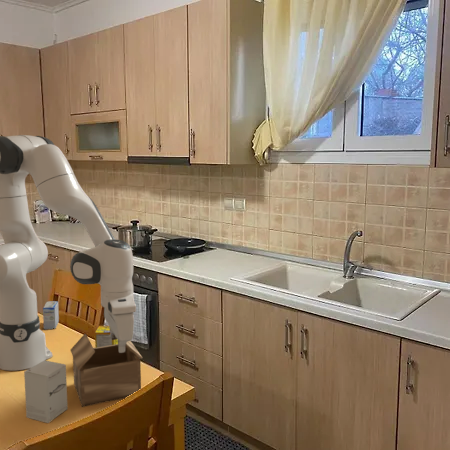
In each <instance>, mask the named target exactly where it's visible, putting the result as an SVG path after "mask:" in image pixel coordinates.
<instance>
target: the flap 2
mask: <svg viewBox="0 0 450 450" xmlns="http://www.w3.org/2000/svg"><path fill="white" fill-rule="evenodd" d="M125 346H126V347H127V348H128V349H130V350H131V351H132V352H133V353H134V354H136V355H137V356H138V358H139V359H143V356H142V355H141V354H140V352H139V351H138V349H137V348H136V347H135V345H134V344H133V342H132V340H131V341H128V342H127V343H126V345H125Z"/></svg>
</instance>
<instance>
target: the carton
mask: <svg viewBox="0 0 450 450" xmlns="http://www.w3.org/2000/svg"><path fill="white" fill-rule="evenodd" d="M93 349H94V351H95V353H94V354H93V355H92V356H91V358H90V359H89V360H88V361H87V362H86V363H85V364H84V365H83V367H82V368H81V369H80V370H78V369H77V366H76V363H75V361H74V358H73V357H72V363H73V364H72V365H73V366H72V368H73V385H74V388H75V392H76V394H77V396H78V399H79V402H80V403H79V404H80V405H81V407H82V408H84V407H89V406H93V405H98V404H102V403H103V404H104V403H108V402H111V401H117V400H122V399H126V398H125V397H127V396H129V395H131V394H133V393H134V392H136V391H138V390H139V389H141V390H142V380H141V379H142V378H141V377H142V376H141V375H142V373H141V360H140V358H139V357H138V356H137V355H136V354H134V353H133V352H132V351H131V350H130V349H128V348H127V347H126V346H125V352H123V353H119V351H118V344H115V345H109V346H102V347H96V348H95V347H93ZM127 398H128V397H127Z"/></svg>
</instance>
